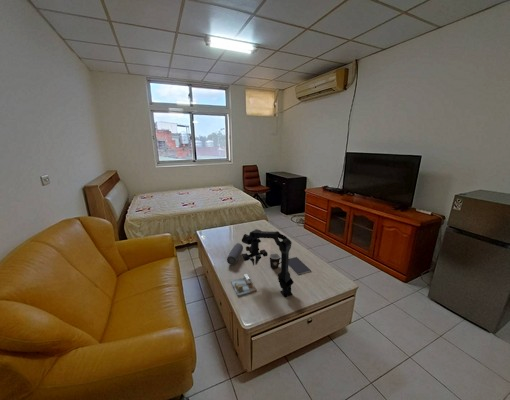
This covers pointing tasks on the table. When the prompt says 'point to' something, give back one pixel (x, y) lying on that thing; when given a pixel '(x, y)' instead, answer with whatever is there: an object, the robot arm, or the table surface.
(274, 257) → the coffee mug
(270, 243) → the table surface
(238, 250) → the bluetooth speaker
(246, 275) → the latch bar
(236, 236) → the table surface
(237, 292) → the door panel
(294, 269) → the notebook
